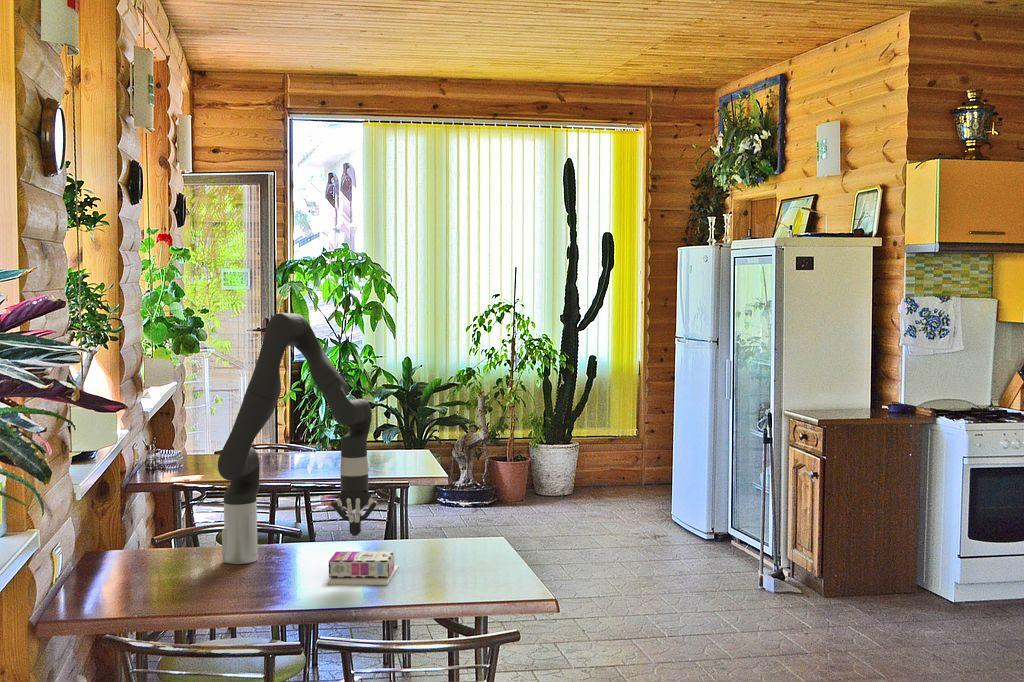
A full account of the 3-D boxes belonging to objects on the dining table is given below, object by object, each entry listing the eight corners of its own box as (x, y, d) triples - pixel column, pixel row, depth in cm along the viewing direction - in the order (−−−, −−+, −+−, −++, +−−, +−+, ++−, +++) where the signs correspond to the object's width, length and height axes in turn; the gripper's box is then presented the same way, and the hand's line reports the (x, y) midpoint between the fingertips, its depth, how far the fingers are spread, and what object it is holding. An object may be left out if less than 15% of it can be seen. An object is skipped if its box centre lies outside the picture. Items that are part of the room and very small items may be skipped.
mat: (327, 584, 288) (327, 582, 288) (343, 566, 306) (343, 564, 306) (387, 585, 287) (387, 583, 286) (399, 567, 304) (399, 565, 304)
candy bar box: (328, 579, 291) (389, 578, 290) (327, 560, 291) (388, 560, 290) (336, 568, 302) (395, 568, 302) (336, 551, 302) (394, 550, 301)
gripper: (327, 474, 291) (328, 538, 292) (375, 475, 290) (376, 538, 291) (333, 470, 299) (334, 532, 300) (381, 470, 298) (382, 532, 299)
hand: (355, 535), depth 296 cm, fingers closed
